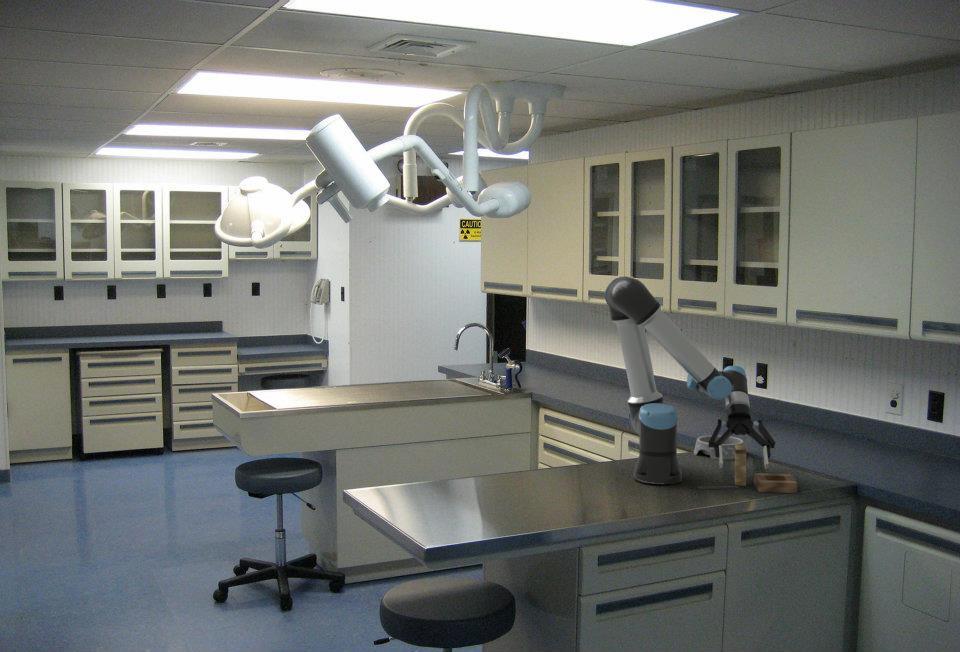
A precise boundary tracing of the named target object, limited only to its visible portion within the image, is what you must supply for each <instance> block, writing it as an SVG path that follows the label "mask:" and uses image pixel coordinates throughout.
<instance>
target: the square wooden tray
mask: <svg viewBox="0 0 960 652" xmlns="http://www.w3.org/2000/svg"><path fill="white" fill-rule="evenodd" d="M753 477H754V478H753V483H754V485H755V487H756V489H757V492H759V493H782V494H783V493H786V494H797V493H798V482H797V481H796V479H795V478H794V476H793V474H792V473H772V472H771V473H768V472H767V473H766V472H754V473H753Z"/></svg>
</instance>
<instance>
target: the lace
mask: <svg viewBox="0 0 960 652" xmlns="http://www.w3.org/2000/svg"><path fill="white" fill-rule="evenodd" d="M739 487H740V485H725V486H724V485H723V486H722V485H721V486H720V485H718V486H715V485H714V486H713V485H712V486H698V489H699V490H731V489H732V490H733V489H738V490H739Z"/></svg>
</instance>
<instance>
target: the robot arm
mask: <svg viewBox="0 0 960 652" xmlns="http://www.w3.org/2000/svg"><path fill="white" fill-rule="evenodd" d="M604 299H605V302H606V305H607V306H608V310H609V313H610V317H611V318H610V319H611V322H612V323H614V324H615V325H616V326H617V330H618V331H617V332H618V336H619V340H620V346H621V351H622V356H623V362H624V366H625V371H626V375H627V377H626V378H627V381H628V387H629V392H630V393H629V394H630V397H628V399H627V407H628V410H629V411H628V412H629V413H628V421H629V424H630V427H631V428H632V430H633V431H634V433H636V434H637V435H639V436H638V437H639V439H638V440H639V447H638V448H639V455H638V459H637V461H636V464H635V466H634V470H633V478H634V477H636V478H637V479H640V480H643V481H647V482H654V483H664V484H671V485H675V483H676V484H679V483H681V482H682V481H683V471H682V467H681V465H680V462H679V460H678V456H677V455H678V454H677V452H678V451H677V450H678V447H677V446H678V442H677V439H678V437H677V435H678V433H677V432H678V431H677V430H678V429H677V428H678V416H677V414H678V413H677V410H676V409H675V407H673V406H671V405H670V404H666V403H665V402H664V397H663V394H662V393H661V392H659V391H658V390H657V389H658V388H657V385H656V381H655V380H656V379H655V375H654V369H653V363H652V358H651V354H650V348H649V343H648V338H647V333H646V331H647V332H648V333H649V335H651V336H652V338H653V339H655V341H656V342H657V343H658V344H659V345H660V346H661V347H662V348H663V349H664V351H666V352H667V353H668V354H669V355H670V356H671V358H672V359H673V360H674V361H675V362H676V363H677V364H678V365H679V366H680V367H681V368H682V369H683V370H684V371H685V372H686V373H687V377H686V386H687V388H688V390H691V391H695V392H702V393H704V394H705V395H707V396H709V397H710V398H711V399H713V400H717V401H723V400H725V401H724V402H725V409H726V410H725V413H726V420H725V421H724V420H722V419H719V418H718V419H717V424H716V427H715V429H714V431H713V433H712V435H711V436H712V437H711V438H710V440H709V445H708V446H709V447H710V448H711V447H713V448H714V450H715V456H716V457H719V459H718V461H719V462H718V463H719V469H722V468H723V467H724V466H723V465H724V460H723V458H722V447H721V445H722V444H723V443H724V442H725V441H726V440H727V439H728V438H729V437H732V435H735V436H738V435H739V436H745V435H747V436H748V437H749V438H750V437H751V438H752V440H754V441H755V442H756V443H757V444H758V445H760V446H761V447H762V454H763V463H764V469H765V470H767V469H768V468H769V459H770V458H771V457H772V456H771V455H772V454H771V449H775V446H776V441H775V439H774V438H773V437H772V435H771V434H770V433H769V431H768V430H767V429H766V427H765V426H764V423H763V420H762V419H758V420H757V421H753V420H752V415H751V414H752V413H751V408H750V407H751V404H750V397H749V389H748V387H749V386H748V378H747V374H746V370H745V369H744V368H743V367H741V366H740V365H736V364H735V365H729V366H726V367H725V368H724V369H723V370H722V371H721V370H718V369H717V368H716V367H715V365H713V363H711V362H710V361H709V359H708V358H707V357H706V356H705V355H704V354H703V352H701V351H700V349H698V348H697V346H695V344H694V343H693V342H692V341H691V340H690V339H689V338H688V337H687V336H686V335H685V334H684V333H683V332H682V331H681V330H680V328H678V326H676V324H675V323H674V322H673V321H672V320H671V319H670V318H669V316H667V315H666V313H664V311H663V310H662V305H661V303H660V302H659V301H658V300H657V299H656V298H655V297H654V296H653V293H651V292H650V291H649V289H648V288H647V287H646V285H645V284H644V283H643V282H642V281H640V280H639V279H636V278H633V277H630V276H619V277H616V278H614V279H613V280H611V281H610V282H609V283H608V284H607V287H606V288H605V292H604ZM725 426H726V428H727V430H726V431H725V432H724V433H723V434H722V435H720V432H721V431H722V430H721V429H723V428H724V427H725ZM754 427H755V428H756V429H757V430H758V431H759V433H760V434H759V433H758V432H757V431H756V430H755V428H754ZM719 435H720V436H721V437H720V438H719V439H718V440H717V441H716V442H715V440H716V438H717V436H719Z"/></svg>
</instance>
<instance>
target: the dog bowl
mask: <svg viewBox="0 0 960 652" xmlns="http://www.w3.org/2000/svg"><path fill="white" fill-rule="evenodd" d="M721 436H722V435H718V436H717V438H716V440H715V442H716V441H717V440H718V439H719V438H720V437H721ZM711 437H712V435H704V436H700V437H697V439H696V442H695V445H694V450H693V455H695V456H697V455H698V453H699V452H701V453H702V454H704V455H707V456H709V457H710V459H711V460H719V457H716V456H715V450H714V448H713V447H711V448H710V447H709V446H708V445H709V440H710V438H711ZM735 445H745V442H744V440H743V439H741V438H739V437H734V436H730V437H729V438H728V439H727V440H726V441H725V442H724V443H723V444H722V445H721V447H722V458H723V461H725V460H727V461H729V460H735Z"/></svg>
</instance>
